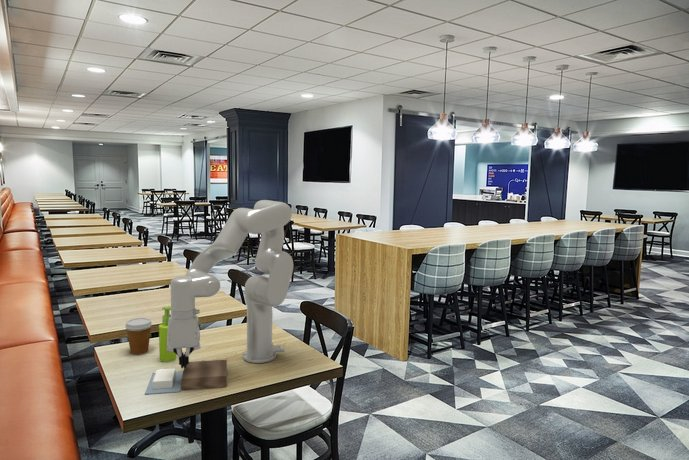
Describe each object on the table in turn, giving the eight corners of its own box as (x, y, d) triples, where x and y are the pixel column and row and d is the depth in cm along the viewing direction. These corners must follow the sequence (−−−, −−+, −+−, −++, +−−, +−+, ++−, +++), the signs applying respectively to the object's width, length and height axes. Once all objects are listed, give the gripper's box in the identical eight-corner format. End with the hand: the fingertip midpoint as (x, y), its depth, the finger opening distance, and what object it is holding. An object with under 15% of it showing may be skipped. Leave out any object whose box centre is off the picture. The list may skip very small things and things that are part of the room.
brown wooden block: (226, 370, 169) (226, 359, 168) (226, 387, 156) (226, 375, 156) (185, 372, 166) (185, 362, 165) (181, 390, 153) (181, 378, 153)
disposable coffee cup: (148, 356, 178) (147, 325, 177) (122, 356, 178) (120, 325, 176) (156, 346, 188) (155, 317, 186) (131, 346, 187) (130, 317, 185)
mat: (184, 371, 167) (184, 370, 167) (179, 392, 152) (179, 391, 152) (152, 373, 164) (152, 373, 164) (144, 394, 150) (144, 393, 150)
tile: (156, 369, 161) (157, 376, 162) (152, 381, 153) (152, 389, 153) (175, 368, 163) (175, 375, 163) (172, 380, 154) (172, 387, 154)
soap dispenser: (173, 363, 173) (172, 310, 170) (156, 361, 175) (155, 308, 172) (182, 356, 179) (181, 305, 176) (165, 354, 180) (164, 304, 177)
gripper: (207, 309, 162) (207, 360, 164) (160, 311, 158) (162, 363, 161) (206, 316, 154) (206, 369, 157) (157, 318, 151) (158, 372, 153)
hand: (184, 366), depth 159 cm, fingers closed
